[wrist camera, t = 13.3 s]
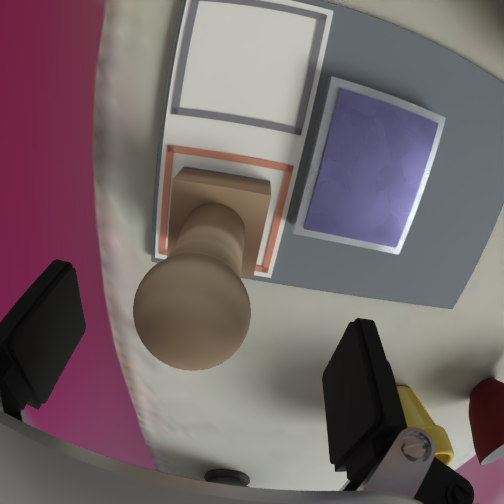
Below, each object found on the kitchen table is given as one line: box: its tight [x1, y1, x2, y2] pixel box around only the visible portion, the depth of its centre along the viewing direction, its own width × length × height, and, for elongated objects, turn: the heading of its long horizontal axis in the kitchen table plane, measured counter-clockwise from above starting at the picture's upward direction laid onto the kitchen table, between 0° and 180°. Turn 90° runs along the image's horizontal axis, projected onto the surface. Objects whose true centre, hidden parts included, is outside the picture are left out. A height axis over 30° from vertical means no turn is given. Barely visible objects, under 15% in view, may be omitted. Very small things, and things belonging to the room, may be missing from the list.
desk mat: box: [152, 0, 504, 309], centre depth 18 cm, size 18×24×1 cm
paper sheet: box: [155, 0, 334, 278], centre depth 17 cm, size 17×8×1 cm, turn 170°
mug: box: [469, 378, 504, 465], centre depth 25 cm, size 10×8×10 cm
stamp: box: [133, 166, 271, 370], centre depth 14 cm, size 5×5×11 cm
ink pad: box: [291, 76, 446, 255], centre depth 17 cm, size 9×7×2 cm
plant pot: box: [397, 386, 454, 465], centre depth 26 cm, size 10×10×10 cm
